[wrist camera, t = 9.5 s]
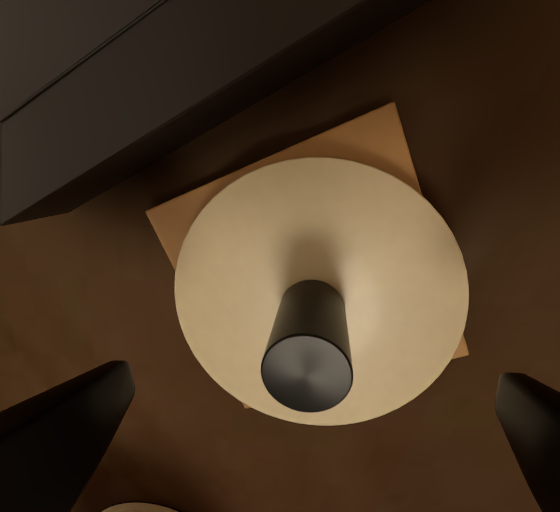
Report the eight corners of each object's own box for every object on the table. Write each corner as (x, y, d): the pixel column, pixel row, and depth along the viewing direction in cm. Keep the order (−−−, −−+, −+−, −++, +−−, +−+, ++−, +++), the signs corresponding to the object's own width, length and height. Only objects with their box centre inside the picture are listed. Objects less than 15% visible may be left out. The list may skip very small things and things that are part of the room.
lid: (523, 245, 11) (662, 307, 6) (361, 445, 14) (377, 576, 10) (248, 101, 11) (192, 59, 6) (151, 338, 14) (70, 420, 10)
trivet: (463, 347, 13) (470, 355, 12) (247, 400, 15) (244, 409, 15) (391, 103, 11) (394, 100, 10) (151, 209, 13) (144, 211, 13)
